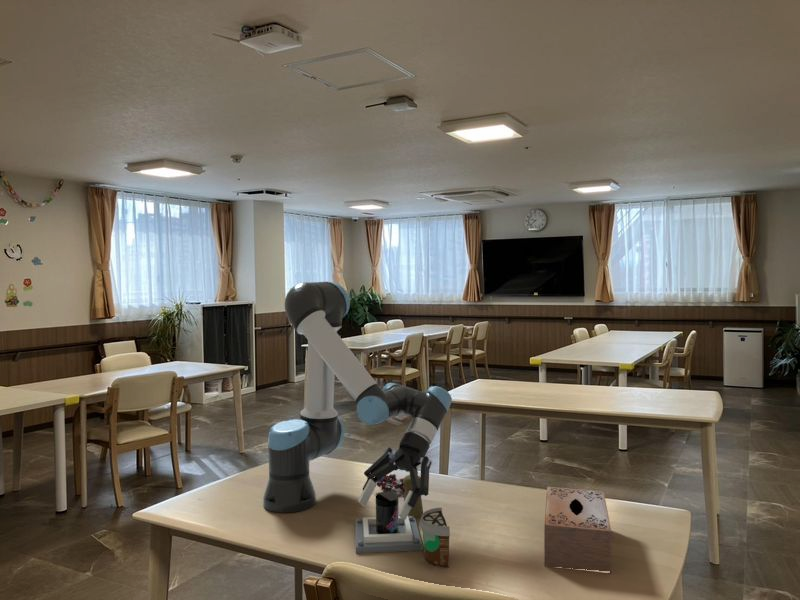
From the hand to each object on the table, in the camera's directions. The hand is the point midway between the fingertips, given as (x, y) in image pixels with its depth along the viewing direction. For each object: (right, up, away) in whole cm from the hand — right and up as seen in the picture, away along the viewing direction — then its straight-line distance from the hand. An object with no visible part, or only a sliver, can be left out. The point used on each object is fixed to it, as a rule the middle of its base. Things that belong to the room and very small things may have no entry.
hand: (380, 510), depth 153 cm
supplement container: (+2, -6, +2) cm, 7 cm away
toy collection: (+4, -7, +36) cm, 37 cm away
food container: (+12, -8, -10) cm, 18 cm away
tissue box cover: (+48, -8, -3) cm, 49 cm away
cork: (+8, -7, +17) cm, 20 cm away
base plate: (+2, -8, +2) cm, 8 cm away
